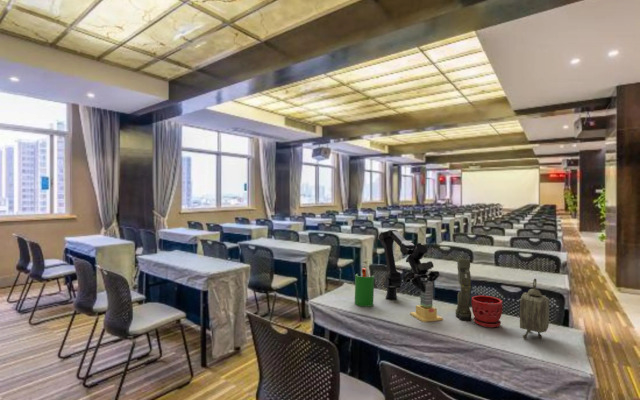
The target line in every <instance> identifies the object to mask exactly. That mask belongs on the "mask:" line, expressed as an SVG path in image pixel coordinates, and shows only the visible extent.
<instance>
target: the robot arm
mask: <svg viewBox="0 0 640 400" xmlns="http://www.w3.org/2000/svg"><path fill="white" fill-rule="evenodd" d="M378 240H379V242H380V244H381V246H382V247H383V250H384V257H385V263H386V268H387V272H386V275H385V280H384V281H383V288H385V289H386V295H385V299H386V300H395V301H397V300H398V296H397V295H398V294H397V292H398V291H397V289H401V285H402V280H403V283H405V284H408V283H411V284H412V285H414V286H415V287H416V288H417V289H419V290H420V292H421V291H423V292H425V289H424V287H423V284H422V282H421V281H422V279H425V280H424V281H426V280H428V281H431V282H436V280H438V278H439V277H440V276H441V274H440V272H439V271H438V270H432V268H434V263H433V262H432V261H431V260H430V261H427V262H422V261H421V260H422V259H423V258H424V257H425V255H426V254H427V253H428V248H427V246H425V245H424V244H422V243H421V242H417V243H416V244H414V243H412V242H410V241H408V240H407V239H405V238H404V236H403V235H401V234H400V232H399V231H398V229H389V230H386V231H382V232H380V234H378ZM394 242H395V244H397V245H398V247H399V251H400V253H401V254H402V255H404V256H406V260H405V263H408V264H409V267H410V271H408V272H406V273H405V274H404V276H403V277H402V275H401V272H400V271H398V270H397V268H396V261H395V256H394V250H393V244H394ZM407 256H408V257H407ZM429 270H432V271H430V272H429ZM428 272H429V273H428Z"/></svg>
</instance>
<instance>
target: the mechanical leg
mask: <svg viewBox="0 0 640 400" xmlns="http://www.w3.org/2000/svg"><path fill="white" fill-rule="evenodd" d="M456 263H457V264H456V265H457V277H458V284H459V285H460V291H458V292H457V306H456V309H455V317H456V318H458V319H459V320H460V321H464V322H472V310H471V308H470V307H471V306H470V305H471V294H472V293H471V289H472V288H471V287H472V286H471V285H472V277H471V271H470V270H471V269H470V268H471V262H470V260H469V259H466V258H465V257H464V258H463V257H462V258H461V257H458V258H457V261H456Z"/></svg>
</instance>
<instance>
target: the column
mask: <svg viewBox="0 0 640 400" xmlns="http://www.w3.org/2000/svg"><path fill="white" fill-rule="evenodd" d="M421 282H422V284H423V287H424V289H425V292H423V291H421V290H420V304H419V305H422V306H424V307H434V306H433V298H434V297H433V296H434V295H433V293H434V292H433V291H434V281H432V282H431V281H428V280H421Z"/></svg>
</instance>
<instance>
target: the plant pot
mask: <svg viewBox="0 0 640 400" xmlns="http://www.w3.org/2000/svg"><path fill="white" fill-rule="evenodd" d="M470 305H471V312H472V314H473V321H474V323H475V324H477V325H478V326H481V327H485V328H492V329H493V328H497V327H499V326H500V325H501V324H502V321H501V320H500V319H501V318H502V316H503V315H502V314H503V301H502V299H500V298H498V297H495V296H489V295H475V296H472V297H470Z"/></svg>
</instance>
